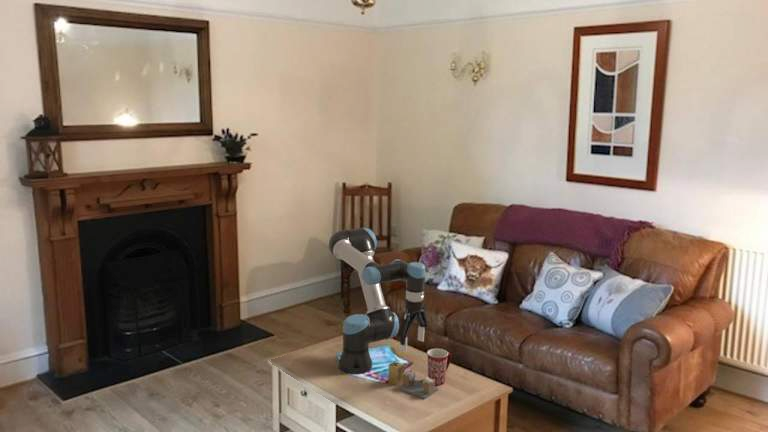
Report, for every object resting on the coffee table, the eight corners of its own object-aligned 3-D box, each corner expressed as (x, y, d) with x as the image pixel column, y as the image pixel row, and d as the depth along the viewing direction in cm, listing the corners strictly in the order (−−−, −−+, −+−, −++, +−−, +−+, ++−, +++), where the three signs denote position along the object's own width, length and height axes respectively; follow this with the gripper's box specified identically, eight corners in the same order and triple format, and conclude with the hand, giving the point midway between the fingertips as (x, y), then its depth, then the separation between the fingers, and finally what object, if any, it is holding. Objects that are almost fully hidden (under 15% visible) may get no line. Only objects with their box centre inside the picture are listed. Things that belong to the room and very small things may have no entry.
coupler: (388, 381, 276) (388, 364, 274) (394, 378, 280) (394, 360, 278) (397, 385, 273) (397, 367, 271) (403, 381, 277) (404, 363, 275)
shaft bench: (399, 389, 269) (399, 374, 268) (412, 381, 277) (413, 366, 276) (424, 399, 262) (425, 383, 260) (438, 390, 269) (438, 375, 268)
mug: (436, 388, 271) (437, 359, 268) (421, 380, 278) (422, 351, 275) (457, 380, 279) (458, 351, 276) (442, 372, 286) (443, 344, 283)
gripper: (405, 310, 255) (403, 358, 260) (437, 293, 275) (434, 338, 280) (390, 305, 259) (388, 353, 264) (422, 289, 279) (420, 334, 284)
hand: (412, 346), depth 272 cm, fingers open, 13 cm apart
